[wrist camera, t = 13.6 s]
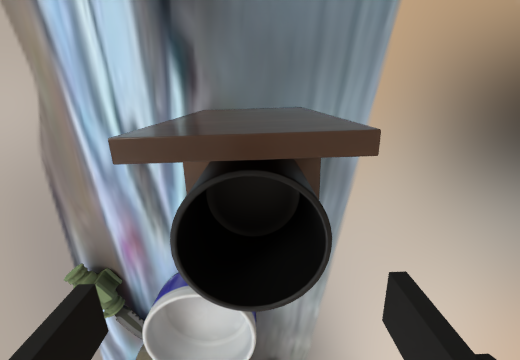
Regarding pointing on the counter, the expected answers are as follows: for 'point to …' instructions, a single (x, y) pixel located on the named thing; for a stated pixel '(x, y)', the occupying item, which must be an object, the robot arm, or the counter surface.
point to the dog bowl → (196, 327)
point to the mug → (251, 234)
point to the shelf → (247, 140)
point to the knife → (108, 296)
